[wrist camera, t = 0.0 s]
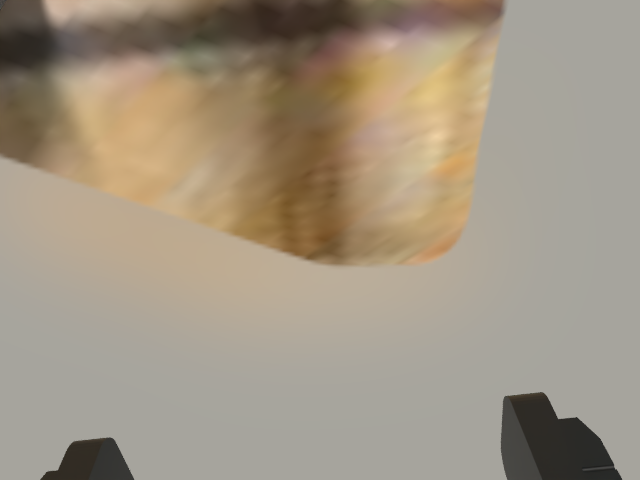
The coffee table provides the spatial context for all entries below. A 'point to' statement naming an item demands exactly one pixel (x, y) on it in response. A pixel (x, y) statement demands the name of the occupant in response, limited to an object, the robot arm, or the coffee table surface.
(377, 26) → the coffee table surface
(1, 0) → the tower base
